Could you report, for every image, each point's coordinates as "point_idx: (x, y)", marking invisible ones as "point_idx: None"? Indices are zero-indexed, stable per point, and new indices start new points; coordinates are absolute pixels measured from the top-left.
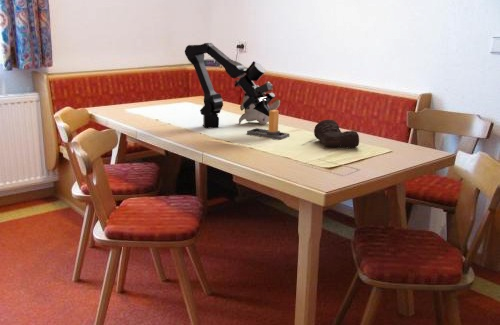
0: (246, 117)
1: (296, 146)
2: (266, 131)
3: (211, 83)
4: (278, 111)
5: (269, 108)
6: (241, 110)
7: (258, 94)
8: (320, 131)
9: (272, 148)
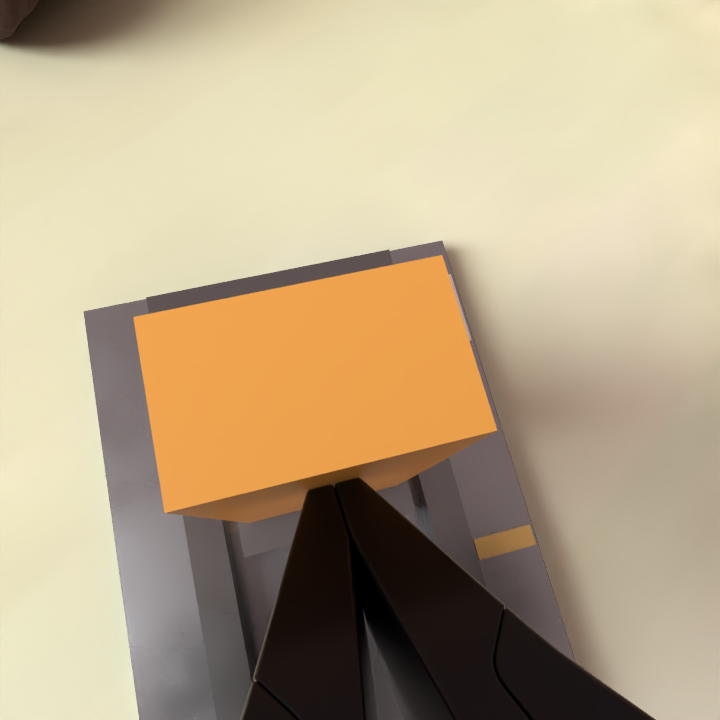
0: None
1: (398, 56)
2: (252, 678)
3: None
4: (163, 325)
5: (276, 661)
6: None
7: None
8: None
9: (656, 149)
